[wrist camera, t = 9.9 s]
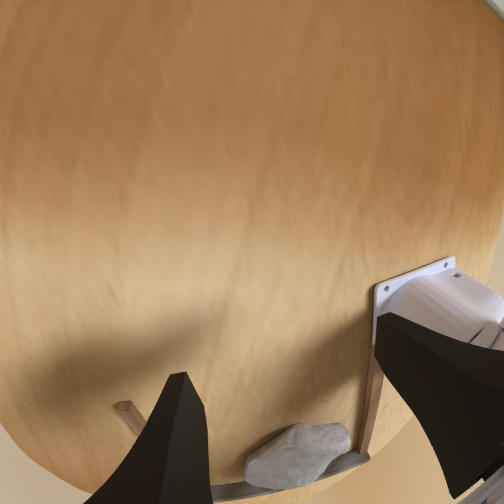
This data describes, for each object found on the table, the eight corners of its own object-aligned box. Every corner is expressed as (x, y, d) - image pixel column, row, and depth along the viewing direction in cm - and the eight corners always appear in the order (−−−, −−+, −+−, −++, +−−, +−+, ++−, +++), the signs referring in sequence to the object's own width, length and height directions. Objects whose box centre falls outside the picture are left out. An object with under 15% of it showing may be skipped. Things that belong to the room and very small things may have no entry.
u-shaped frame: (381, 336, 23) (395, 352, 20) (363, 448, 31) (369, 460, 29) (119, 401, 21) (115, 422, 18) (201, 490, 29) (202, 503, 27)
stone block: (235, 457, 29) (302, 469, 30) (233, 485, 25) (305, 495, 25) (275, 403, 27) (350, 419, 28) (277, 436, 22) (360, 448, 23)
